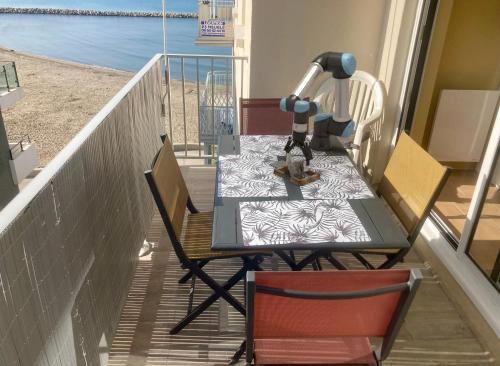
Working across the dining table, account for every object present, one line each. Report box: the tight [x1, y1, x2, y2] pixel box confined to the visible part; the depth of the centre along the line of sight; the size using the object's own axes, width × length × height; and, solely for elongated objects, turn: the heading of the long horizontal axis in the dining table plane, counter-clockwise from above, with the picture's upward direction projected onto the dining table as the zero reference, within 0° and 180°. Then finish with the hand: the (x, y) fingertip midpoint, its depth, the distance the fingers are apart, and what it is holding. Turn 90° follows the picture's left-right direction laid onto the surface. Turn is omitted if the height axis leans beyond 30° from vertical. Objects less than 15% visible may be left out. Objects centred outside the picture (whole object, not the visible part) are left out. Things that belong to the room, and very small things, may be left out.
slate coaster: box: [268, 160, 289, 169], centre depth 248 cm, size 11×11×1 cm
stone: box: [288, 161, 307, 180], centre depth 232 cm, size 10×10×10 cm
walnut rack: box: [272, 165, 322, 187], centre depth 233 cm, size 16×21×3 cm
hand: (296, 167), depth 231 cm, fingers open, 13 cm apart
